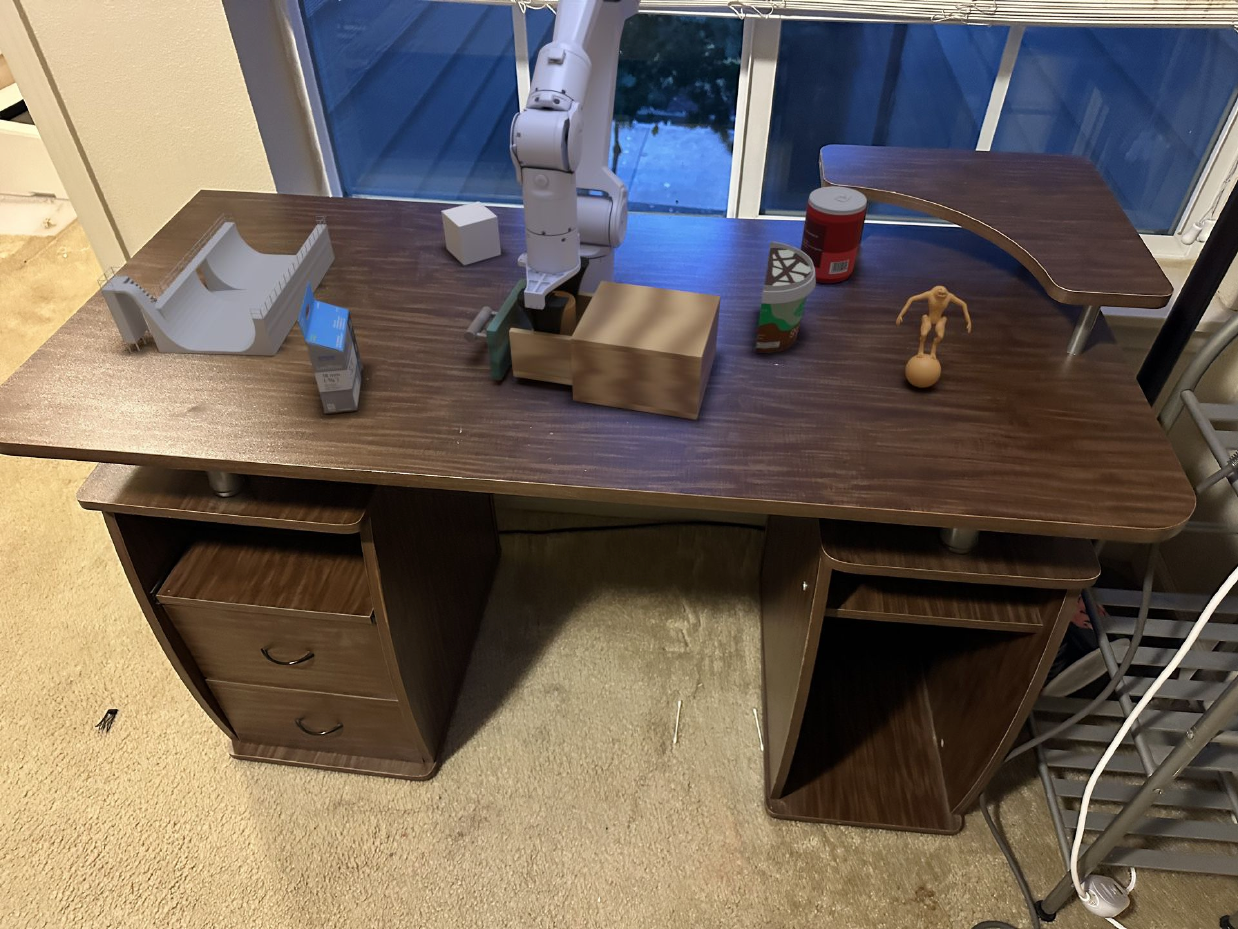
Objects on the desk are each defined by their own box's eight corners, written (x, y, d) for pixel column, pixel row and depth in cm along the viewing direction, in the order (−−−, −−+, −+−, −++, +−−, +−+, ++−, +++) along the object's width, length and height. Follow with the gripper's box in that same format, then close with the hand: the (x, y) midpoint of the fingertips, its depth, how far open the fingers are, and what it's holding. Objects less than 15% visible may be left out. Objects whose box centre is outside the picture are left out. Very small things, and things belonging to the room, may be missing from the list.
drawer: (457, 373, 102) (450, 324, 97) (492, 321, 110) (487, 274, 106) (601, 395, 99) (600, 346, 94) (625, 340, 107) (626, 292, 103)
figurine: (883, 389, 101) (906, 301, 93) (882, 361, 106) (904, 274, 98) (956, 398, 100) (986, 309, 92) (952, 369, 104) (979, 281, 96)
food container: (804, 365, 105) (816, 293, 98) (753, 359, 106) (763, 287, 99) (807, 313, 114) (819, 244, 107) (761, 308, 115) (770, 239, 108)
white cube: (501, 254, 126) (497, 216, 122) (464, 265, 123) (459, 226, 119) (482, 238, 130) (478, 201, 126) (446, 248, 127) (441, 210, 123)
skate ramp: (274, 356, 106) (252, 284, 99) (128, 351, 107) (96, 280, 100) (335, 258, 125) (319, 193, 118) (210, 255, 125) (187, 190, 119)
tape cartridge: (359, 412, 98) (335, 319, 89) (323, 415, 97) (297, 322, 89) (364, 367, 104) (342, 277, 96) (331, 370, 104) (307, 280, 96)
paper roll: (532, 347, 104) (528, 297, 99) (565, 336, 106) (563, 286, 101) (550, 366, 101) (546, 315, 96) (583, 355, 103) (582, 304, 98)
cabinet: (572, 400, 99) (570, 338, 94) (601, 340, 109) (601, 280, 103) (696, 420, 97) (701, 357, 91) (715, 356, 106) (720, 295, 100)
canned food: (860, 266, 123) (875, 193, 116) (839, 290, 118) (854, 215, 111) (810, 252, 126) (822, 181, 119) (788, 275, 121) (799, 201, 114)
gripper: (537, 192, 98) (543, 296, 107) (493, 250, 88) (504, 359, 97) (596, 199, 97) (597, 303, 106) (558, 258, 87) (563, 368, 96)
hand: (556, 331), depth 101 cm, fingers open, 6 cm apart
